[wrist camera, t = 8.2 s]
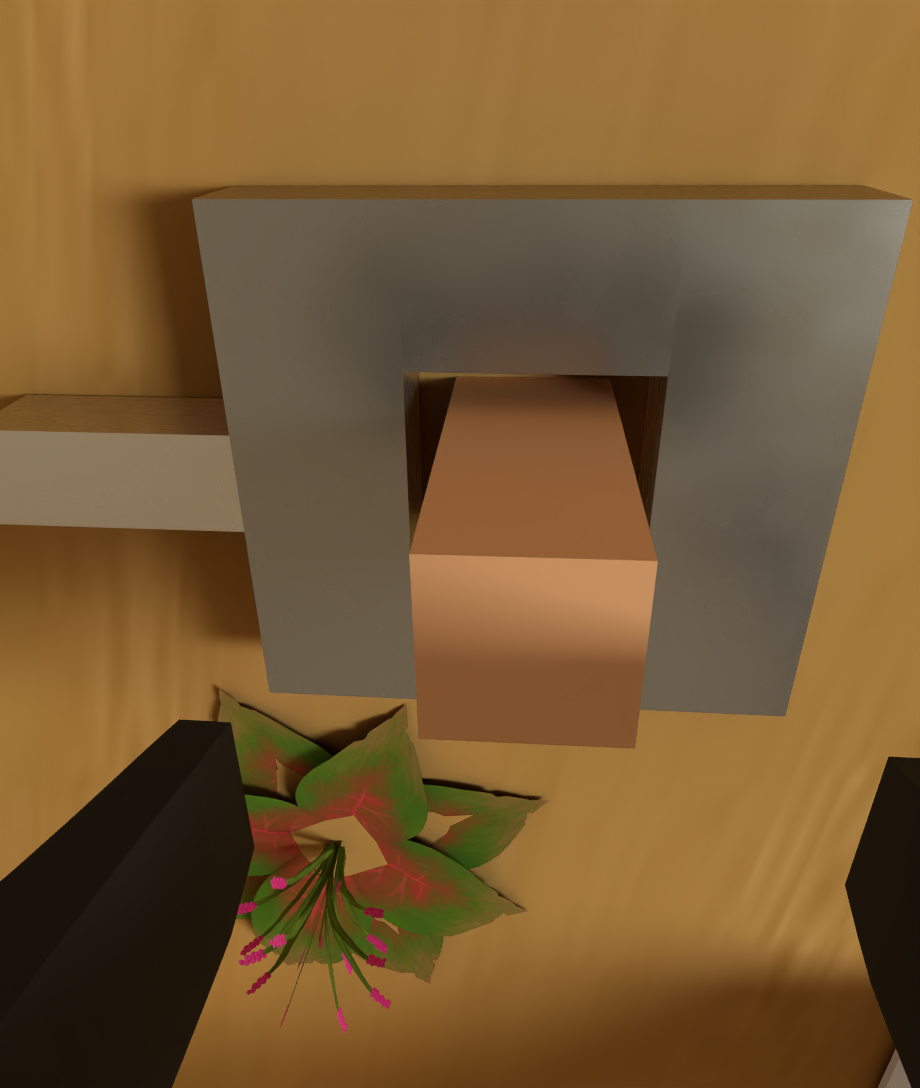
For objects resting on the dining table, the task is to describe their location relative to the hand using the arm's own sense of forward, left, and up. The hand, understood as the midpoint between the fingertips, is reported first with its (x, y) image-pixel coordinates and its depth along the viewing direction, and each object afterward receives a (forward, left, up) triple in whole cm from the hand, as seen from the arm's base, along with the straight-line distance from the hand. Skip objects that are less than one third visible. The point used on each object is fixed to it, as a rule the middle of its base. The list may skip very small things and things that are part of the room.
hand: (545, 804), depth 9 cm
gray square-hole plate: (+3, -1, -9) cm, 9 cm away
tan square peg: (0, -1, -9) cm, 9 cm away
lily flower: (+5, +12, -10) cm, 16 cm away
